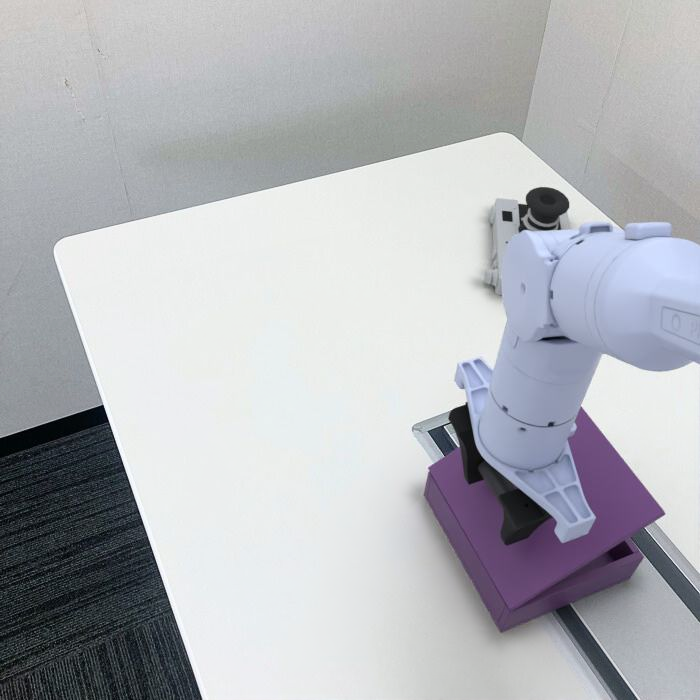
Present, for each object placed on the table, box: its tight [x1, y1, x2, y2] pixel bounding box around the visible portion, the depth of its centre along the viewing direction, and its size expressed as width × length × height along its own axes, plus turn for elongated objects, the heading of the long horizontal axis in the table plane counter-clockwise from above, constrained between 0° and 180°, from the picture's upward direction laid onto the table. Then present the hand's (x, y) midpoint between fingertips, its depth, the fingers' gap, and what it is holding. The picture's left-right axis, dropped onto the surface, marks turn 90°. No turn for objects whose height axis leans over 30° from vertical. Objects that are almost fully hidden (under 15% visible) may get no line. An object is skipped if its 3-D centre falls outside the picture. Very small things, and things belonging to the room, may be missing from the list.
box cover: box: [427, 406, 666, 611], centre depth 56 cm, size 13×13×4 cm
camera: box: [483, 186, 571, 296], centre depth 87 cm, size 15×7×10 cm
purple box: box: [423, 470, 645, 633], centre depth 62 cm, size 12×13×4 cm
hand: (496, 507), depth 57 cm, fingers closed on box cover, 5 cm apart
